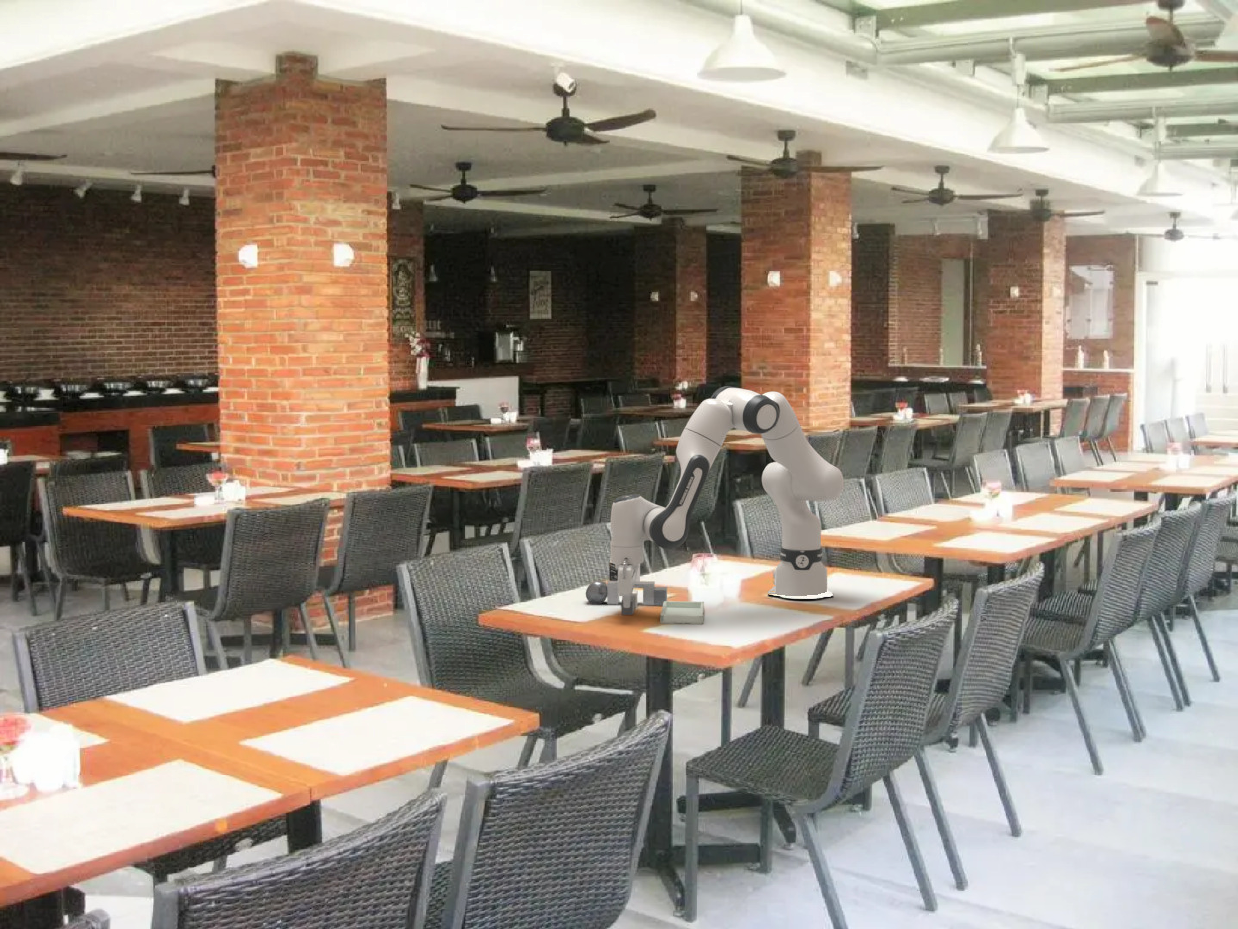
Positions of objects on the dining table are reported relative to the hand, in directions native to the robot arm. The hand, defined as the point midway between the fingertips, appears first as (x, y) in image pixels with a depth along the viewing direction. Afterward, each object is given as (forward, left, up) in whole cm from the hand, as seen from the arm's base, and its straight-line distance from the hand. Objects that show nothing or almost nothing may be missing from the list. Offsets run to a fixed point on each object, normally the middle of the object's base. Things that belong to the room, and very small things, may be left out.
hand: (627, 606), depth 355 cm
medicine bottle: (-46, -4, -3) cm, 47 cm away
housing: (-17, -1, -2) cm, 18 cm away
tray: (-1, +15, -2) cm, 15 cm away
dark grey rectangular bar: (-8, 0, -2) cm, 9 cm away
